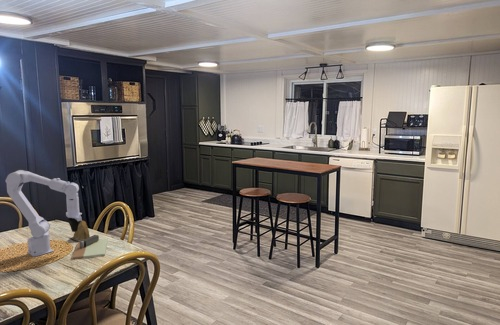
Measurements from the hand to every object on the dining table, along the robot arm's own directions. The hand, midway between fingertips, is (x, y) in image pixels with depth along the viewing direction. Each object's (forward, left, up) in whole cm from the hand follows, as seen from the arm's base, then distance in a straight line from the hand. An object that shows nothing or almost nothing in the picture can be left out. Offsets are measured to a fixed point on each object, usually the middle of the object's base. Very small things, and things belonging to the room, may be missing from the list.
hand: (74, 231), depth 180 cm
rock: (+9, +14, -10) cm, 20 cm away
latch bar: (+8, 0, -9) cm, 12 cm away
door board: (+5, -6, -10) cm, 13 cm away
